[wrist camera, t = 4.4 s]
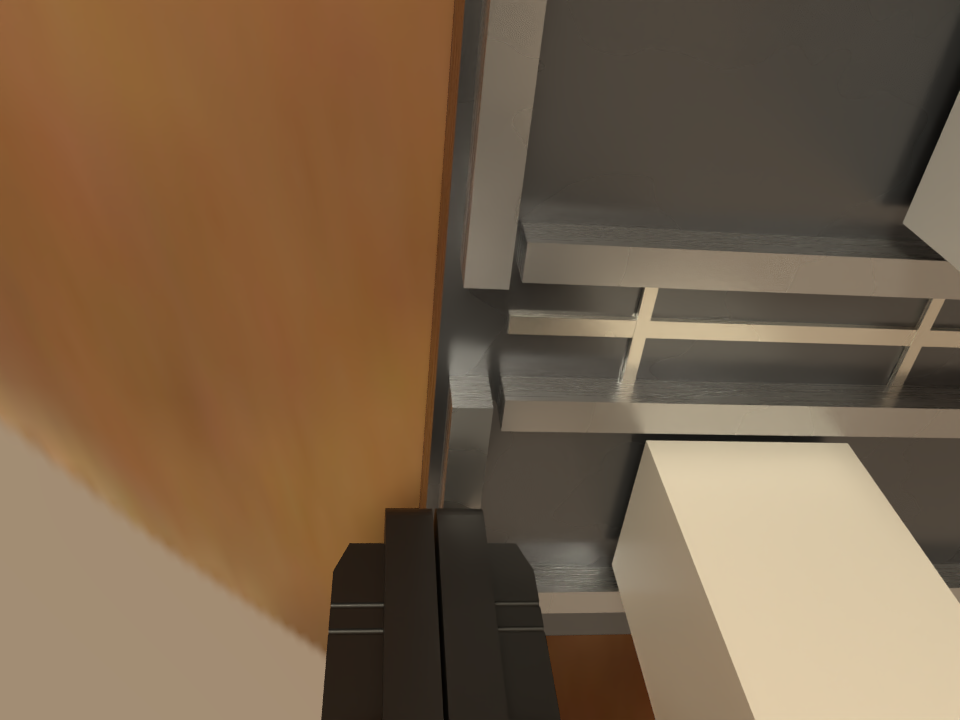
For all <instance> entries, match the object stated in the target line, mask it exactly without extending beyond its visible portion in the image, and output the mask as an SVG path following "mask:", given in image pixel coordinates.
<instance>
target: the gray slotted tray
mask: <svg viewBox="0 0 960 720" xmlns="http://www.w3.org/2000/svg"><path fill="white" fill-rule="evenodd" d="M959 91H960V0H454V14H453V29H452V43H451V58H450V72H449V86H448V101H447V115H446V129H445V144H444V158H443V173H442V187H441V201H440V216H439V230H438V245H437V259H436V273H435V288H434V302H433V316H432V331H431V345H430V360H429V374H428V388H427V403H426V417H425V432H424V446H423V460H422V475H421V489H420V503H419V508H425V509H432V511H433V522H434V513H435V509H436V508H460V509H482V510H483V514H484V521H485V529H486V537H487V543H516V544H517V546H518V547H519V549H520V550H521V552H522V553H523V555H524V556H525V558H526V559H527V561H528V562H529V564H530V565H531V567H532V568H533V570H534V574H535V579H536V585H537V590H538V596H539V607H541V613H542V618H543V624H544V632H545V635H546V636H547V635H604V634H631V631H630V627H629V624H628V620H627V617H626V613H625V610H624V606H623V603H622V599H621V596H620V592H619V588H618V585H617V581H616V578H615V574H614V571H613V567H612V562H613V558H614V554H615V551H616V547H617V544H618V540H619V536H620V533H621V529H622V526H623V522H624V519H625V515H626V511H627V508H628V504H629V501H630V497H631V493H632V490H633V486H634V483H635V479H636V475H637V472H638V468H639V465H640V461H641V458H642V454H643V450H644V447H645V443H646V440H653V441H725V442H797V443H848V444H849V446H850V447H851V449H852V450H853V451H854V453H855V454H856V456H857V457H858V459H859V460H860V461H861V463H862V464H863V466H864V467H865V469H866V470H867V472H868V473H869V474H870V476H871V477H872V479H873V480H874V482H875V483H876V484H877V486H878V487H879V489H880V490H881V492H882V493H883V494H884V496H885V497H886V499H887V500H888V502H889V503H890V504H891V506H892V507H893V509H894V510H895V512H896V513H897V514H898V516H899V517H900V519H901V520H902V522H903V523H904V524H905V526H906V527H907V529H908V530H909V532H910V533H911V535H912V536H913V537H914V539H915V540H916V542H917V543H918V545H919V546H920V547H921V549H922V550H923V552H924V553H925V555H926V556H927V557H928V559H929V560H930V562H931V563H932V565H933V566H934V567H935V569H936V570H937V572H938V573H939V575H940V576H941V577H942V579H943V580H944V582H945V583H946V585H947V586H948V587H949V589H950V590H951V592H952V593H953V595H954V596H955V598H956V599H957V600H958V602H959V603H960V271H959V270H957V269H956V268H955V267H954V266H953V265H951V264H950V263H949V262H948V261H947V260H946V259H944V258H943V257H942V256H941V255H940V254H938V253H937V252H936V251H935V250H934V249H933V248H931V247H930V246H929V245H928V244H927V243H925V242H924V241H923V240H922V239H921V238H919V237H918V236H917V235H916V234H915V233H914V232H912V231H911V230H910V229H909V228H908V227H906V226H905V225H904V224H903V221H904V219H905V216H906V214H907V212H908V209H909V207H910V205H911V203H912V200H913V198H914V196H915V193H916V191H917V189H918V186H919V184H920V182H921V179H922V177H923V175H924V172H925V170H926V168H927V165H928V163H929V161H930V158H931V156H932V154H933V152H934V149H935V147H936V145H937V142H938V140H939V138H940V135H941V133H942V131H943V128H944V126H945V124H946V121H947V119H948V117H949V114H950V112H951V110H952V107H953V105H954V103H955V101H956V98H957V96H958V94H959Z"/></svg>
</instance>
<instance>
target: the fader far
mask: <svg viewBox="0 0 960 720" xmlns="http://www.w3.org/2000/svg"><path fill="white" fill-rule="evenodd" d="M612 567H613V571H614V574H615V578H616V581H617V585H618V588H619V592H620V596H621V599H622V603H623V606H624V610H625V613H626V617H627V620H628V624H629V627H630V631H631V635H632V638H633V642H634V645H635V649H636V652H637V656H638V659H639V663H640V666H641V670H642V674H643V677H644V681H645V684H646V688H647V691H648V695H649V698H650V702H651V706H652V709H653V713H654V716H655V720H960V603H959V602H958V600H957V599H956V598H955V596H954V595H953V593H952V592H951V590H950V589H949V587H948V586H947V585H946V583H945V582H944V580H943V579H942V577H941V576H940V575H939V573H938V572H937V570H936V569H935V567H934V566H933V565H932V563H931V562H930V560H929V559H928V557H927V556H926V555H925V553H924V552H923V550H922V549H921V547H920V546H919V545H918V543H917V542H916V540H915V539H914V537H913V536H912V535H911V533H910V532H909V530H908V529H907V527H906V526H905V524H904V523H903V522H902V520H901V519H900V517H899V516H898V514H897V513H896V512H895V510H894V509H893V507H892V506H891V504H890V503H889V502H888V500H887V499H886V497H885V496H884V494H883V493H882V492H881V490H880V489H879V487H878V486H877V484H876V483H875V482H874V480H873V479H872V477H871V476H870V474H869V473H868V472H867V470H866V469H865V467H864V466H863V464H862V463H861V461H860V460H859V459H858V457H857V456H856V454H855V453H854V451H853V450H852V449H851V447H850V446H849V444H848V443H797V442H725V441H653V440H646V443H645V447H644V450H643V454H642V458H641V461H640V465H639V468H638V472H637V475H636V479H635V483H634V486H633V490H632V493H631V497H630V501H629V504H628V508H627V511H626V515H625V519H624V522H623V526H622V529H621V533H620V536H619V540H618V544H617V547H616V551H615V554H614V558H613V562H612Z"/></svg>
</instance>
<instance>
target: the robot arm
mask: <svg viewBox="0 0 960 720" xmlns="http://www.w3.org/2000/svg"><path fill="white" fill-rule="evenodd" d="M321 720H561V719H560V714H559V708H558V703H557V697H556V691H555V686H554V680H553V674H552V669H551V663H550V658H549V652H548V646H547V641H546V635H545V632H544V624H543V618H542V613H541V607H539V596H538V590H537V585H536V579H535V574H534V570H533V568H532V567H531V565H530V564H529V562H528V561H527V559H526V558H525V556H524V555H523V553H522V552H521V550H520V549H519V547H518V546H517V544H516V543H487V537H486V529H485V521H484V514H483V510H482V509H460V508H436V509H435V513H434V522H433V511H432V509H425V508H385V529H384V543H350V544H349V545H348V547H347V549H346V550H345V552H344V554H343V556H342V557H341V559H340V561H339V562H338V564H337V566H336V567H335V569H334V571H333V581H332V594H331V609H330V619H329V634H328V644H327V656H326V669H325V681H324V694H323V706H322V719H321Z"/></svg>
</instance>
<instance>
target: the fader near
mask: <svg viewBox="0 0 960 720" xmlns="http://www.w3.org/2000/svg"><path fill="white" fill-rule="evenodd" d="M903 224H904V225H905V226H906V227H908V228H909V229H910V230H911V231H912V232H914V233H915V234H916V235H917V236H918V237H919V238H921V239H922V240H923V241H924V242H925V243H927V244H928V245H929V246H930V247H931V248H933V249H934V250H935V251H936V252H937V253H938V254H940V255H941V256H942V257H943V258H944V259H946V260H947V261H948V262H949V263H950V264H951V265H953V266H954V267H955V268H956V269H957V270H959V271H960V91H959V94H958V96H957V98H956V101H955V103H954V105H953V107H952V110H951V112H950V114H949V117H948V119H947V121H946V124H945V126H944V128H943V131H942V133H941V135H940V138H939V140H938V142H937V145H936V147H935V149H934V152H933V154H932V156H931V158H930V161H929V163H928V165H927V168H926V170H925V172H924V175H923V177H922V179H921V182H920V184H919V186H918V189H917V191H916V193H915V196H914V198H913V200H912V203H911V205H910V207H909V209H908V212H907V214H906V216H905V219H904V221H903Z"/></svg>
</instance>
